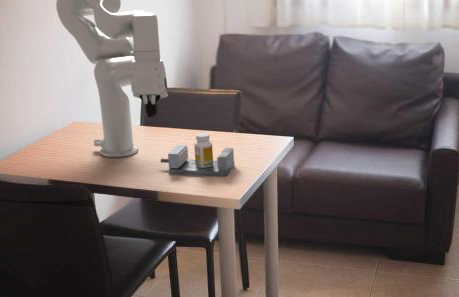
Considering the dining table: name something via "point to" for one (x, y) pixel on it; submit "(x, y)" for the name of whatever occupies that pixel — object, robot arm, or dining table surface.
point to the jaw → (177, 156)
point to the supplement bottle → (203, 151)
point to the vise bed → (217, 169)
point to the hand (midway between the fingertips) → (152, 115)
